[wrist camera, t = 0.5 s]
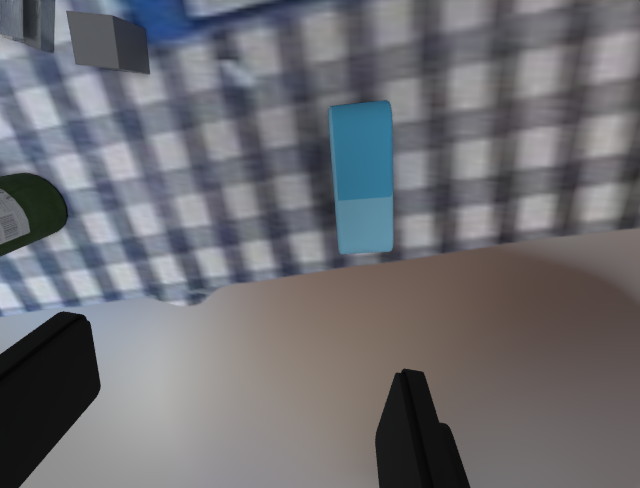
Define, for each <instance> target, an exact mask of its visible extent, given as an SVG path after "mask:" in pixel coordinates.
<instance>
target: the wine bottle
mask: <svg viewBox="0 0 640 488" xmlns="http://www.w3.org/2000/svg"><path fill="white" fill-rule="evenodd" d="M66 217H67V212H66V206H65V203H64V201H63V198H62V197H61V195H60V194H59V193H58V191H57V190H56V189H55V188H54V187H53V186H52V185H51V184H50V183H48V182H47V181H46V180H44V179H42V178H40V177H38V176H35V175H31V174H27V173H19V174H12V175H7V176H2V177H0V256H3V255H5V254H7V253H10V252H12V251H14V250H17V249H19V248H21V247H23V246H26V245H28V244H30V243H33V242H35V241H37V240H40V239H42V238H44V237H47V236H49V235H51V234H53V233H55V232H58V231H59V230H60V229H61V228H62V227H63V225H64V224H65V221H66Z"/></svg>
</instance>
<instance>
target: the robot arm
mask: <svg viewBox="0 0 640 488" xmlns="http://www.w3.org/2000/svg"><path fill="white" fill-rule="evenodd" d="M100 387H101V385H100V379H99V372H98V366H97V360H96V354H95V348H94V342H93V336H92V330H91V324H90V322H89V321H87V319H86V317H85V316H84V315H82V314H76V313H70V312H64V311H63V312H60V313H57V314H56V315H54V316H53V317H52V318H50V319H49V320H47V321H46V322H45V323H43V324H42V325H40V326H39V327H38V328H36V329H35V330H33V331H32V332H31V333H29V334H28V335H27V336H25V337H24V338H22V339H21V340H20V341H18V342H17V343H15V344H14V345H13V346H11V347H10V348H8V349H7V350H6V351H4V352H3V353H1V354H0V488H19V487H20V486H21V484H22V483H23V482H24V481H25V480H26V479H27V478H28V477H29V475H30V474H31V473H32V472H33V471H34V469H35V468H36V467H37V466H38V465H39V464H40V462H41V461H42V460H43V459H44V458H45V457H46V455H47V454H48V453H49V452H50V451H51V450H52V448H53V447H54V446H55V445H56V444H57V443H58V441H59V440H60V439H61V438H62V437H63V435H64V434H65V433H66V432H67V431H68V430H69V429H70V427H71V426H72V425H73V424H74V423H75V422H76V420H77V419H78V418H79V417H80V416H81V414H82V413H83V412H84V411H85V410H86V409H87V408H88V406H89V405H90V404H91V403H92V402H93V401H94V399H95V398H96V397H97V395H98V393H99V391H100ZM375 446H376V457H377V467H378V478H379V488H470V485H469V482H468V479H467V476H466V473H465V470H464V467H463V464H462V461H461V458H460V455H459V452H458V449H457V446H456V443H455V440H454V437H453V434H452V432H451V429H450V427H449V426H448V425H447V424H445V423H439V420H438V417H437V414H436V410H435V407H434V404H433V401H432V398H431V394H430V391H429V388H428V384H427V381H426V378H425V375H424V373H423V372H421V371H416V370H410V369H403V370H402V372H401V373H396V374H395V376H394V379H393V382H392V385H391V389H390V391H389V395H388V398H387V401H386V404H385V407H384V410H383V413H382V416H381V419H380V422H379V425H378V428H377V432H376V439H375Z"/></svg>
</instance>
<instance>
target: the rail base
mask: <svg viewBox="0 0 640 488" xmlns="http://www.w3.org/2000/svg"><path fill="white" fill-rule="evenodd" d="M54 12H55V0H0V34H2V36H3V37H5V38H8V39H10V40H13V41H18V42H22V43H24V44H27V45H29V46H32V47H34V48H37V49H39V50H43V51H48V52H53V49H54Z"/></svg>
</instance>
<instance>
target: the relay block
mask: <svg viewBox="0 0 640 488" xmlns="http://www.w3.org/2000/svg"><path fill="white" fill-rule="evenodd" d="M66 12H67V18H68V24H69V29H70V35H71V40H72V46H73V52H74V57H75V63H76V64H78V65H84V66H90V67H96V68H103V69H109V70H116V71H125V72H135V73H144V74H150V70H149V59H148V49H147V39H146V29H145V28H142V27H140V26H137V25H135V24H132V23H130V22H127V21H125V20H122V19H120V18H117V17H115V16H112V15H103V14H93V13H83V12H74V11H66Z"/></svg>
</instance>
